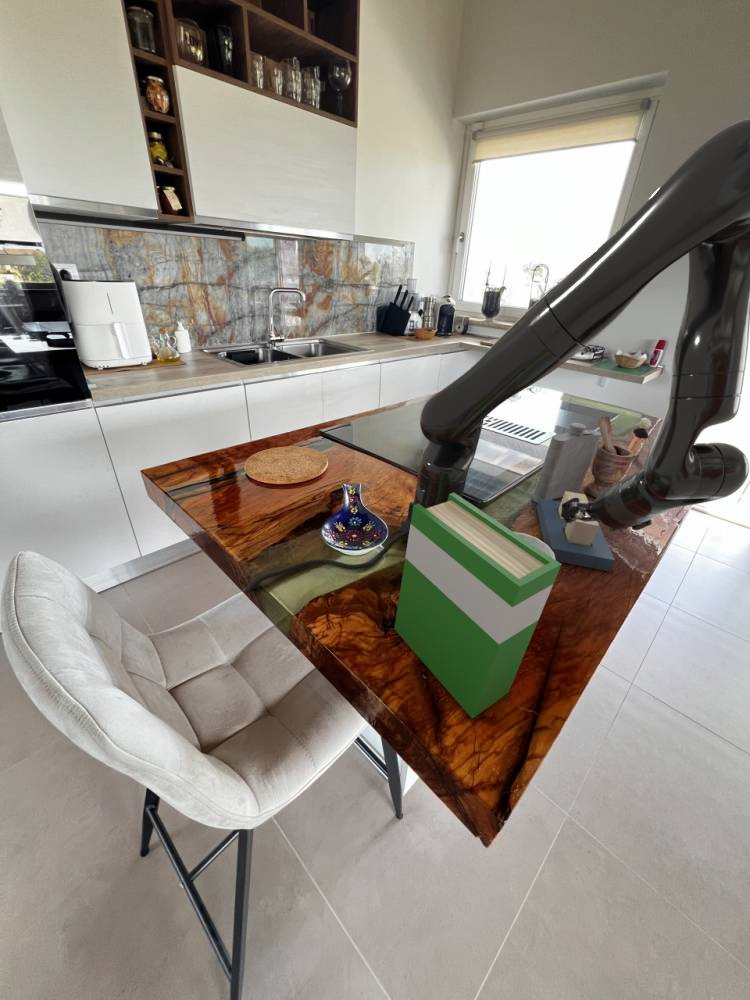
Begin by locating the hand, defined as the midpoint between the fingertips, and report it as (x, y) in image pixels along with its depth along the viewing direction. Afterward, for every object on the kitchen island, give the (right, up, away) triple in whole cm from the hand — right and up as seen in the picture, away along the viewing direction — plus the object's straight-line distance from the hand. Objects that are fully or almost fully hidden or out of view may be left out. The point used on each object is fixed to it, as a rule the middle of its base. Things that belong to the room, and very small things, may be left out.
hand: (589, 521), depth 84 cm
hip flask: (+4, +6, +27) cm, 28 cm away
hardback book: (-33, -20, -21) cm, 44 cm away
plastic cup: (-20, -14, -9) cm, 26 cm away
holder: (+1, -4, +10) cm, 11 cm away
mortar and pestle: (+17, +7, +31) cm, 36 cm away
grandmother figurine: (+44, +20, +56) cm, 74 cm away
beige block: (0, -6, +7) cm, 9 cm away
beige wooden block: (+2, -2, +14) cm, 14 cm away
